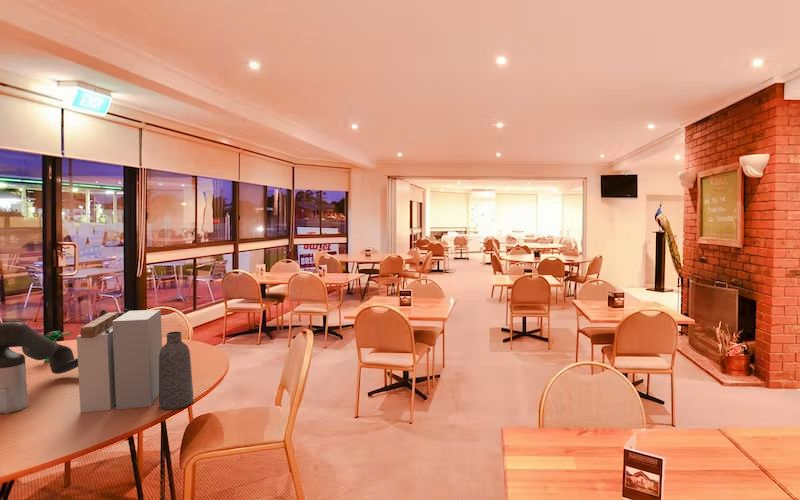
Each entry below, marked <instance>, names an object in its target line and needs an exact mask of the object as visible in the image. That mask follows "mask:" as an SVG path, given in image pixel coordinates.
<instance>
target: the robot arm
mask: <svg viewBox="0 0 800 500" xmlns="http://www.w3.org/2000/svg"><path fill="white" fill-rule="evenodd" d="M128 311H130V309H128V308H124V311H122V312H119V317H120V316H122V315H123V314H125V313H127V312H128ZM107 313H108V312H107V310H105V309H101V311H100V312H99V316H98V318H99V317H101V316H103V315H105V314H107ZM44 336H45V335H42V334H40V333H38V332H36V331H35V330H34V329H33V328H31V327H30V326H29V325H28V324H26V323H24V322H20V321H17V322H16V321H11V322H0V414H5V415H8V414H10V413H14V412H18V411H21V410H24V409H26V408H27V407H28V405H29V400H28V388H27V387H28V386H27V384H28V383H27V372H26V371H27V368H26V357H28V358H31V359H33V360H36V361H44V360H45V359H47V358H48V359H49V362H48V363H49V368H50V370H51V371H50V372H51V373H53V374H54V375H60V374H65V373H67V372H70V371H73V370H75V369H78V357H77V358H75V357H74V352H73V349H71V347H69V346H66V345H63V344H60V343H57V342H56V343H55V342H53V341H51V340H50V339H48V338H46V337H44ZM17 347H19V348H21V351H22V353H23V354H22V353H19V352H17V351H13V350H12V349H11V348H17ZM25 356H26V357H25Z"/></svg>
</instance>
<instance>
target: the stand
mask: <svg viewBox="0 0 800 500" xmlns="http://www.w3.org/2000/svg"><path fill="white" fill-rule="evenodd" d="M162 334H163V332H162V309H143V310H129V311H128V312H127V313H125V314H123V315H122V316H120V317H118V318H117V319H115V320H113V321H112V326H111V327H110V328H108V329H107V330H105V331H103V332H102V333H100V334H99V335H97V336H96V337H94V338H81V331H80V334H78V335H76V347H77V348H76V349H77V358H78V367H77V370H78V387H79V388H78V391H79V407H80V409H79V410H80V411H79V412H80V413H92V412H93V413H94V412H103V411H111V409H113V408H114V407H115V409H116V410H126V409H136V408H137V409H139V408H146V407H147V408H148V407H152V405H153V404H154V402H155V401H156V400H157V398H159V354H160V350H161V349H162V347H163V336H162Z"/></svg>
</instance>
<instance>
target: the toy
mask: <svg viewBox="0 0 800 500" xmlns="http://www.w3.org/2000/svg"><path fill="white" fill-rule="evenodd" d="M72 334H73V331H70V330H68V331H64V332H61V331H60V330H53V331H50V332H47V333H46V334H45V335H43V336H44V337H46V338H48V339H50V340H51V341H53V342H55V343H57V339H58V338H65V337H69V336H71V335H72ZM43 362H46V363H49V359H48V358H47V359H44V360H43Z"/></svg>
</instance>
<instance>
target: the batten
mask: <svg viewBox="0 0 800 500" xmlns="http://www.w3.org/2000/svg"><path fill="white" fill-rule="evenodd" d="M119 313H120V311H111V312H107V314H105V315H103V316H101V317H99V316H98V318H96V319H94V320H92V321H90V322H88V323H86V324H85V325H83V326H81V327H80V332H81V338H94V337H96V336H97V335H99V334H100V333H102V332H103V331H105V330H107V329H108V328H110V327H111V326H112V321H113V320H115V319H117V318H118V317H119Z"/></svg>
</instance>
